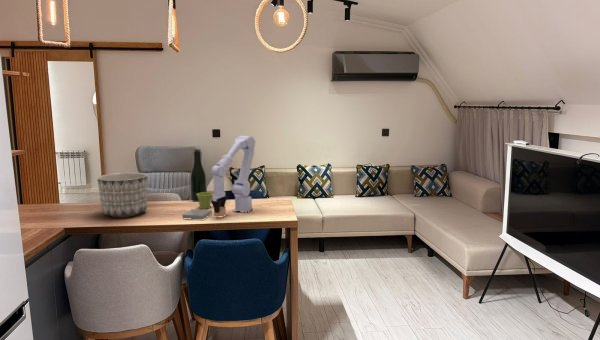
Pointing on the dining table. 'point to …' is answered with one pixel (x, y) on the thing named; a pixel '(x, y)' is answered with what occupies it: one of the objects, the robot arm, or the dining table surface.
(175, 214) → the dining table surface
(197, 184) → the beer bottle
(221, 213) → the terracotta cube
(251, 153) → the robot arm
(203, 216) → the slate plinth
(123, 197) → the planter
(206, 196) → the plant pot
